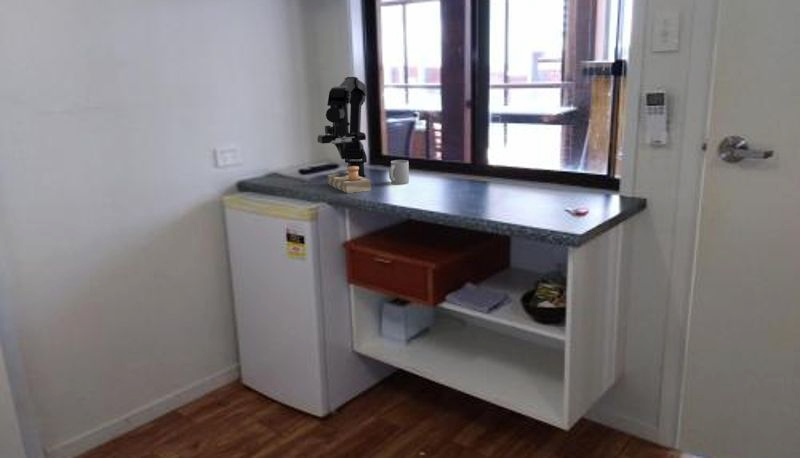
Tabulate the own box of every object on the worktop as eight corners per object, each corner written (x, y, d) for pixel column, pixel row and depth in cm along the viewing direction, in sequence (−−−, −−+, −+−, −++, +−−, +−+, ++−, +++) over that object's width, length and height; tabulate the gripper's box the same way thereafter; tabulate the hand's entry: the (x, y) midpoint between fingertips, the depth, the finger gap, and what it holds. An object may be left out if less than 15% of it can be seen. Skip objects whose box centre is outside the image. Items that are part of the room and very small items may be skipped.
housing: (328, 184, 254) (327, 175, 253) (350, 181, 259) (350, 172, 258) (347, 193, 237) (346, 183, 236) (370, 190, 242) (370, 180, 241)
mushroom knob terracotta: (356, 180, 246) (356, 165, 244) (361, 182, 242) (360, 167, 240) (345, 181, 244) (345, 166, 242) (350, 183, 240) (349, 168, 238)
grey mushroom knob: (347, 183, 255) (346, 169, 254) (351, 185, 251) (351, 171, 250) (336, 184, 253) (336, 170, 252) (341, 186, 249) (340, 172, 248)
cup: (412, 182, 255) (412, 161, 252) (396, 186, 248) (396, 164, 245) (399, 180, 259) (398, 159, 257) (383, 184, 252) (382, 162, 250)
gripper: (354, 116, 256) (356, 154, 260) (311, 119, 248) (314, 158, 252) (365, 118, 247) (367, 157, 251) (321, 122, 238) (323, 162, 243)
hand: (342, 159), depth 249 cm, fingers closed
